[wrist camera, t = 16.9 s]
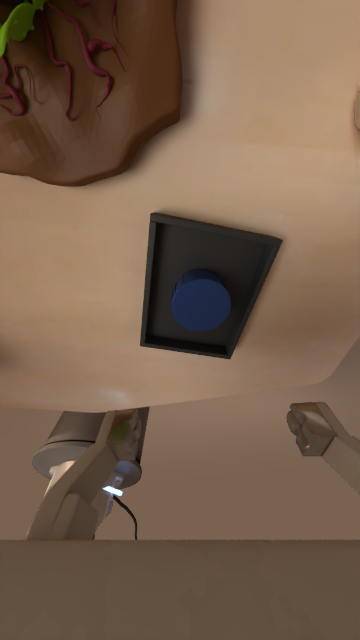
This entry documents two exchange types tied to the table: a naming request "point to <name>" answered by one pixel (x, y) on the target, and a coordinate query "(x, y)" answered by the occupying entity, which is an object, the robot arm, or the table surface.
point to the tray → (211, 254)
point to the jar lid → (200, 300)
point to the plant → (84, 85)
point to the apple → (357, 110)
